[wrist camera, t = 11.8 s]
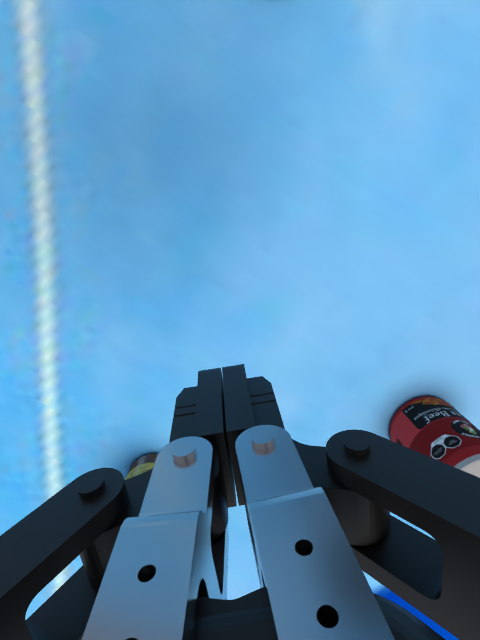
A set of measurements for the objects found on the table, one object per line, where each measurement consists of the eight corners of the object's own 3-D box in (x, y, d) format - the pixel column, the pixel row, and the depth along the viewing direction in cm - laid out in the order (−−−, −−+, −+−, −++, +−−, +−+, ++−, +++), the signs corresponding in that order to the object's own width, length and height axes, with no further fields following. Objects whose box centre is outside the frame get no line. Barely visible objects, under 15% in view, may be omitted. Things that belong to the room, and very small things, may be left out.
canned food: (462, 398, 44) (539, 462, 34) (436, 456, 47) (502, 532, 36) (400, 388, 43) (461, 451, 33) (378, 448, 46) (427, 524, 35)
